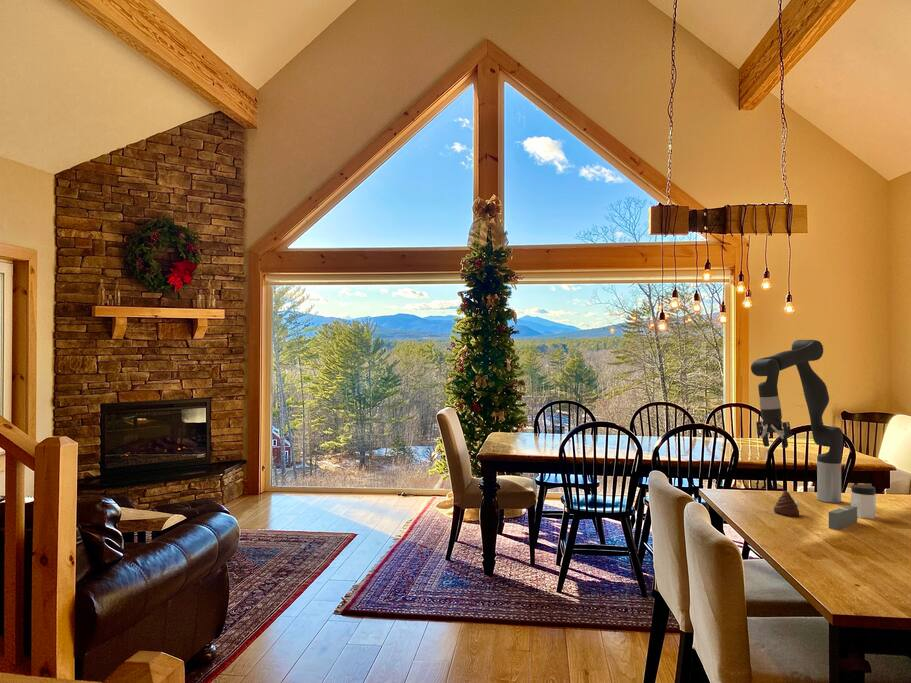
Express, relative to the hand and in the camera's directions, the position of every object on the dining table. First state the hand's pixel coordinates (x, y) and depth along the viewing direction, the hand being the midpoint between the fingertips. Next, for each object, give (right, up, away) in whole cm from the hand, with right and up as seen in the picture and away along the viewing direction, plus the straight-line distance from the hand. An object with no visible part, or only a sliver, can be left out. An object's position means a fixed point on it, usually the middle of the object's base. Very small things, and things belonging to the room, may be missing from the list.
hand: (775, 447), depth 255 cm
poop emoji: (+5, -28, 0) cm, 28 cm away
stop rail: (+17, -27, -16) cm, 36 cm away
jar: (+34, -28, -2) cm, 44 cm away
